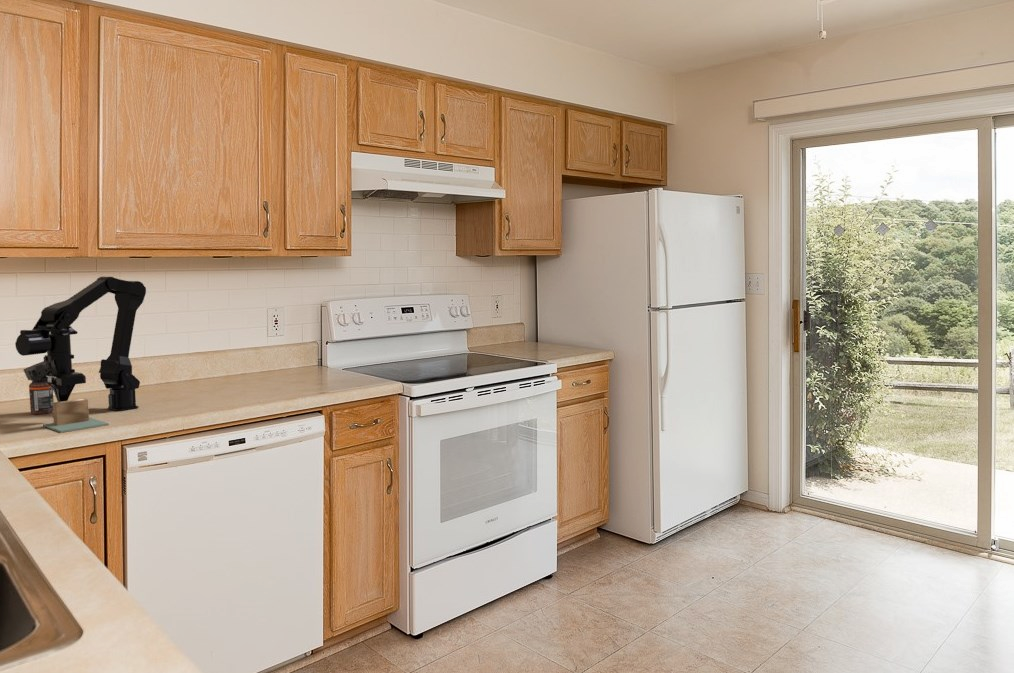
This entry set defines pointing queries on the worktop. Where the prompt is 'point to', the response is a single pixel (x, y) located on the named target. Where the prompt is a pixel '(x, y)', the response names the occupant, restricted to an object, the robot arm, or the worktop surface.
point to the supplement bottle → (41, 397)
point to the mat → (76, 425)
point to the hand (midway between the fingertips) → (62, 406)
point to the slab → (70, 412)
